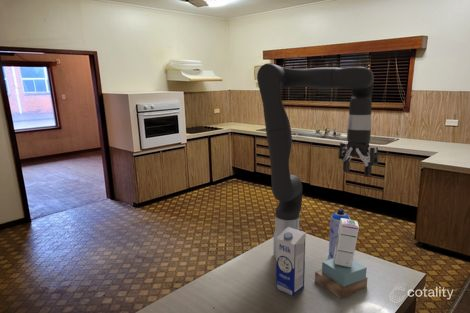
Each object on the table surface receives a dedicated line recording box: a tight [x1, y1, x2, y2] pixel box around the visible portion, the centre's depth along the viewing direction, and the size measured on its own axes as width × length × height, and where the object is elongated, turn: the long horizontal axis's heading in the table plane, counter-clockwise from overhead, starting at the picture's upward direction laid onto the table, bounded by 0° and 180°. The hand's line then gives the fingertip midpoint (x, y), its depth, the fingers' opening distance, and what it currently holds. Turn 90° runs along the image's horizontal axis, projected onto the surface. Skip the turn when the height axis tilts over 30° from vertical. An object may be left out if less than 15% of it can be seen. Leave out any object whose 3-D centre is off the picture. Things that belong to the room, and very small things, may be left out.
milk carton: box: [275, 227, 307, 297], centre depth 109 cm, size 7×7×20 cm
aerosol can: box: [327, 208, 351, 260], centre depth 129 cm, size 8×8×20 cm
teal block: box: [321, 258, 367, 287], centre depth 111 cm, size 10×10×4 cm
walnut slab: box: [314, 268, 368, 299], centre depth 113 cm, size 12×12×4 cm
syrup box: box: [333, 218, 360, 267], centre depth 110 cm, size 6×6×14 cm
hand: (356, 174), depth 116 cm, fingers open, 8 cm apart
